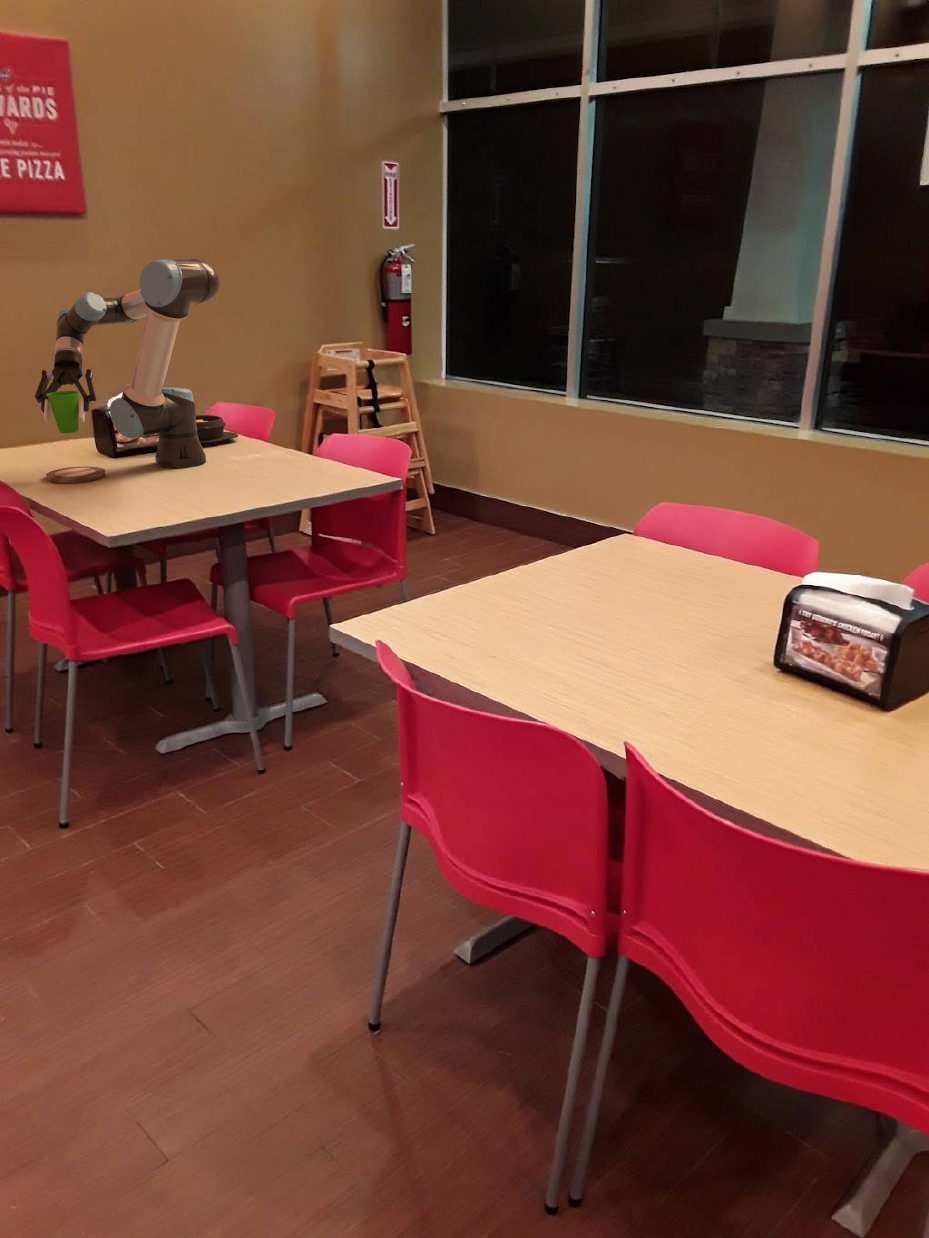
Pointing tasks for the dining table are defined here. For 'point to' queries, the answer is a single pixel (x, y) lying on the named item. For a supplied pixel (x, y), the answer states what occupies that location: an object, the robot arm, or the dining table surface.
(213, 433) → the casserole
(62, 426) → the cup
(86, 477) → the walnut board
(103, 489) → the dining table surface
